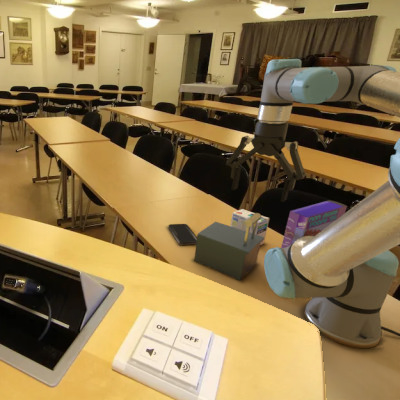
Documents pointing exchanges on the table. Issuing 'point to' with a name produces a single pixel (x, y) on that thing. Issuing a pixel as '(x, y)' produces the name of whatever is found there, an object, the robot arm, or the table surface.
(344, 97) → the robot arm
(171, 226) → the phone
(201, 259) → the dark green box
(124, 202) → the table surface
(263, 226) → the light bulb box
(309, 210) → the cereal box
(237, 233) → the lid
